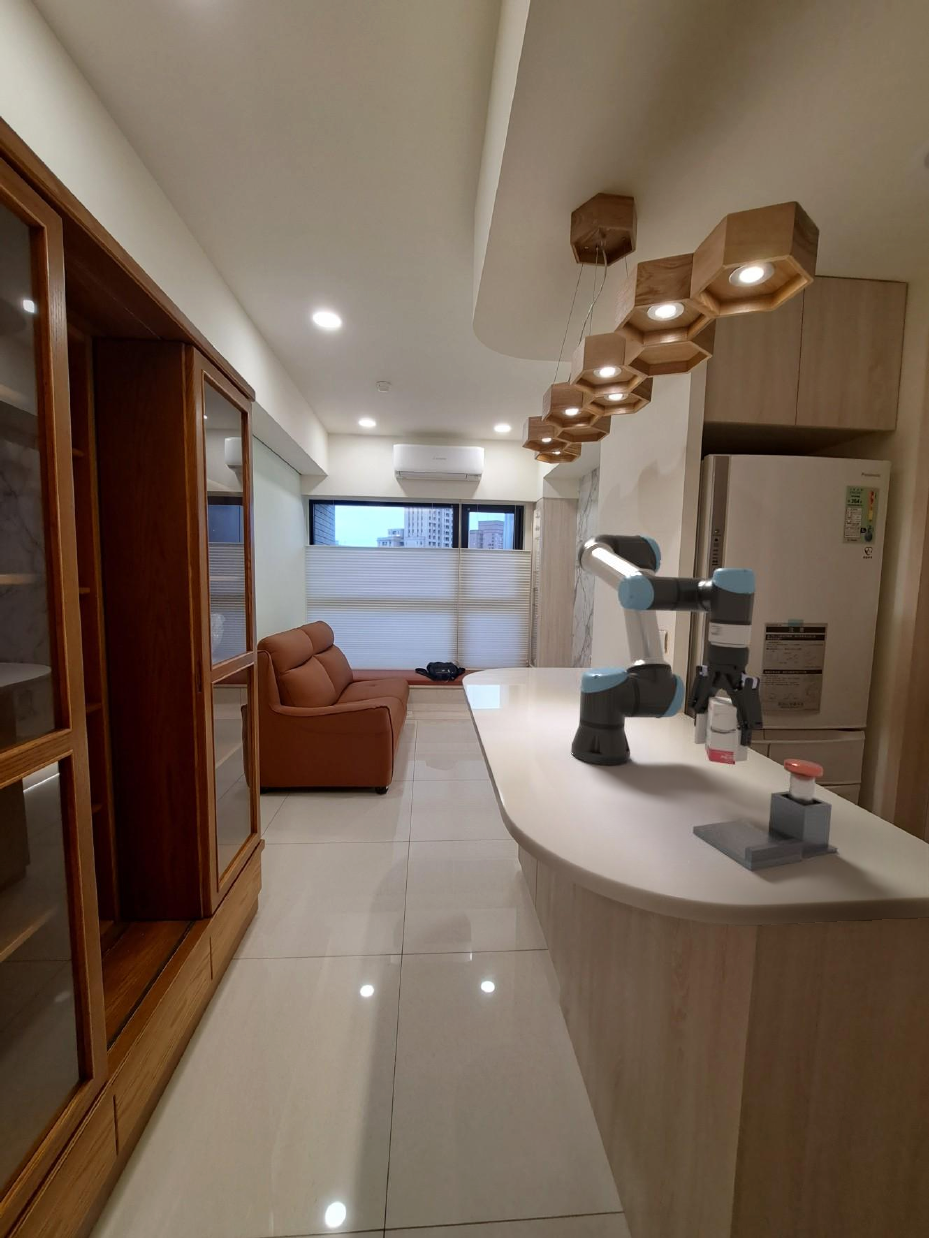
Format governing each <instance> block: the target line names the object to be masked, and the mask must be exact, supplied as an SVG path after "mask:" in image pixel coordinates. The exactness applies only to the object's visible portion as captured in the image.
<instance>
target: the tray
mask: <svg viewBox="0 0 929 1238" xmlns="http://www.w3.org/2000/svg"><path fill="white" fill-rule="evenodd" d="M692 829H693V830H692V834H694V835H696V836H697V837H699V838H700V839H702V840H703V841H704V842H706V843H707V844H709V845H711V846H712V847H714V849H715V848H716V849H717V850H719V851H720V852H722V853H723V854H725V855H726V856H728V857H729V858H730V859H733V860H734V861H735V862H737V863H739V864H741V865H742V866H743V867H745V868H746V869H748V870H749V871H755V870H756V871H757V870H761V869H765V868H772V867H776V866H780V865H781V866H782V865H787V864H791V863H797V862H798V863H799V862H801V861H803V858H802V851H803V842H802V841H800V840H798V839H797V838H795V839H789V840H783V841H778V840H776V839H775V838H773V837H771V836H769V835H767V834H765V833H764V832H762V831H763V830H760V829H758V828H757V827H754V826H752V825H751V824H749V823H747V822H745V821H743V820H742V819H736V820H735V819H734V820H728V821H720V822H715V823H714V822H713V823H709V824H708V823H707V824H702V825H695V826H693V828H692Z"/></svg>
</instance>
